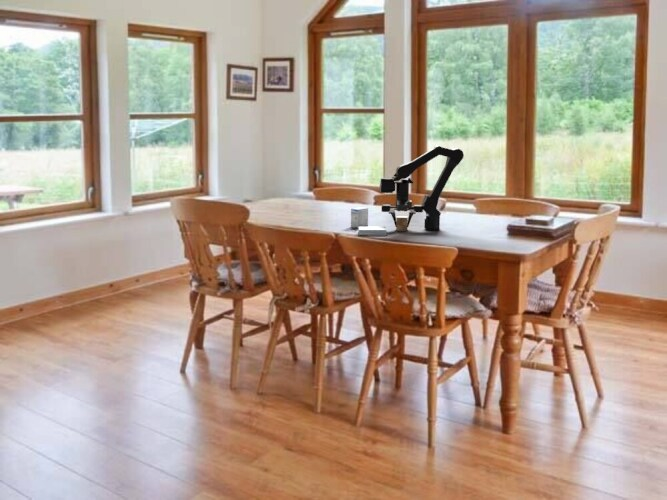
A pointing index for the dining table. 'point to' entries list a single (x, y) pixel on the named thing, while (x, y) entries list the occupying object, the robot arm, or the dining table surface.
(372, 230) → the book
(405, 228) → the walnut block
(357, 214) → the medicine box
